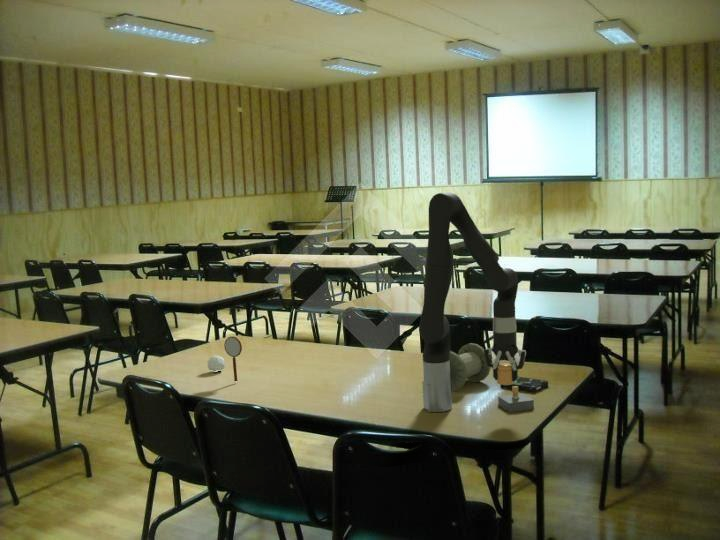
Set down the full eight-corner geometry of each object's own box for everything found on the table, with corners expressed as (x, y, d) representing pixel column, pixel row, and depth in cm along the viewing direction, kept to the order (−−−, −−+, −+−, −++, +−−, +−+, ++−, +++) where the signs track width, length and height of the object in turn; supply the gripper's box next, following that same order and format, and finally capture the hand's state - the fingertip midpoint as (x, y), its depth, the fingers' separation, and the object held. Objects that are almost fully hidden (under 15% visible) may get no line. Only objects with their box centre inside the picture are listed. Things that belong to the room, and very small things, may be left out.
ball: (220, 378, 333) (223, 366, 328) (203, 373, 333) (205, 361, 328) (226, 366, 339) (228, 354, 334) (209, 361, 339) (211, 349, 334)
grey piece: (509, 411, 252) (508, 391, 251) (498, 404, 261) (497, 385, 260) (533, 408, 254) (533, 388, 253) (522, 401, 263) (521, 382, 262)
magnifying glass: (245, 383, 311) (241, 336, 308) (243, 384, 309) (239, 337, 307) (229, 382, 315) (225, 335, 313) (226, 383, 313) (222, 336, 311)
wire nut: (501, 385, 243) (501, 367, 242) (495, 381, 248) (495, 364, 247) (515, 384, 244) (515, 366, 243) (509, 380, 249) (509, 362, 248)
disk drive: (548, 388, 279) (514, 382, 289) (548, 380, 279) (513, 375, 289) (535, 395, 272) (499, 388, 282) (534, 387, 271) (499, 381, 281)
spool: (460, 378, 299) (458, 341, 297) (491, 383, 288) (489, 345, 286) (433, 387, 287) (431, 349, 286) (465, 393, 277) (463, 354, 275)
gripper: (480, 331, 243) (481, 381, 245) (524, 333, 237) (525, 384, 239) (486, 326, 250) (487, 375, 252) (529, 328, 244) (529, 378, 246)
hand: (505, 380), depth 245 cm, fingers closed on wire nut, 5 cm apart
